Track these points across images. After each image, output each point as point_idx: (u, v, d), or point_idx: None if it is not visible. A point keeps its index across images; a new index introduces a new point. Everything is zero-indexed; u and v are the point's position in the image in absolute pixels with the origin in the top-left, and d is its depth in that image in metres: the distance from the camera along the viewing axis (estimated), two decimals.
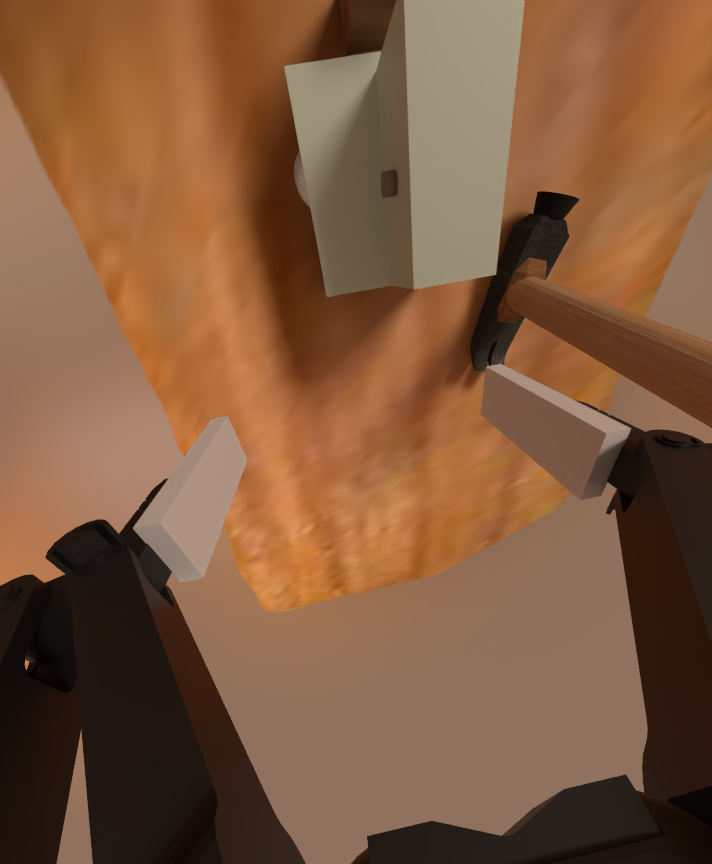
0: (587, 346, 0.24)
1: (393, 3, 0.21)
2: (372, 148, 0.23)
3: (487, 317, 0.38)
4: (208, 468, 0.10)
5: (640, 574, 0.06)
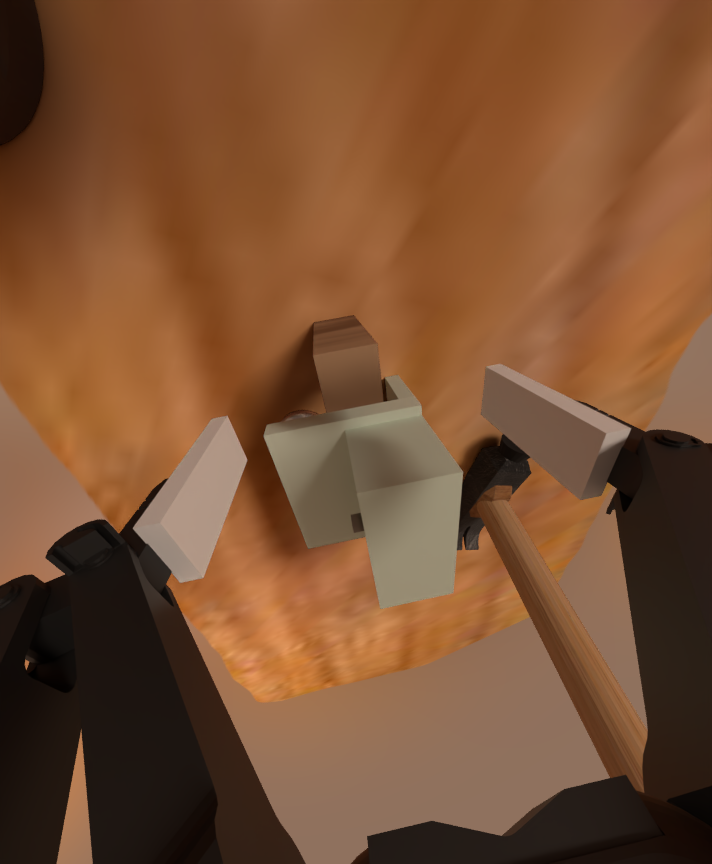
0: None
1: None
2: (344, 468, 0.26)
3: (461, 510, 0.41)
4: (208, 468, 0.10)
5: (640, 574, 0.06)
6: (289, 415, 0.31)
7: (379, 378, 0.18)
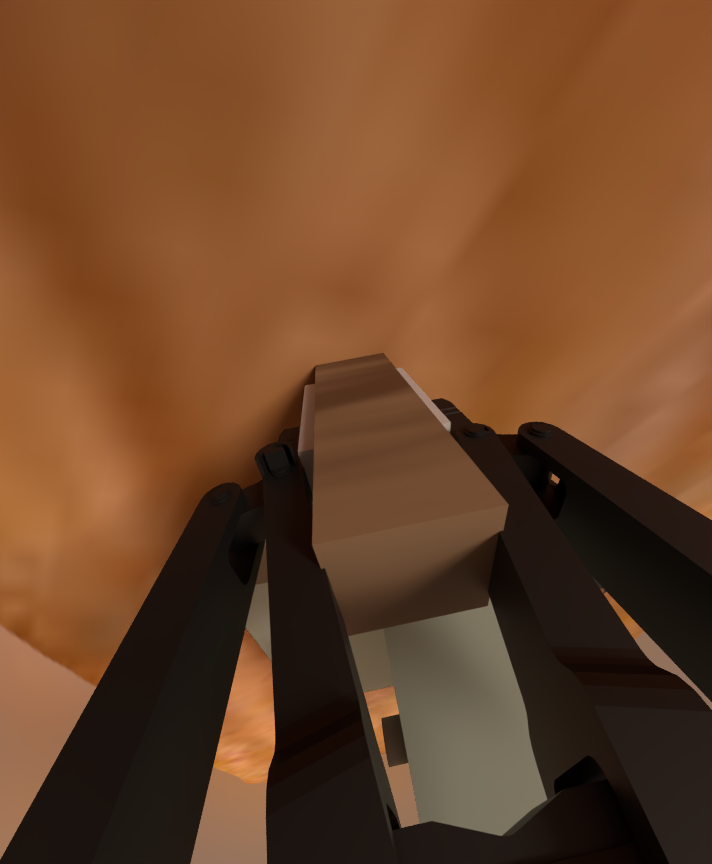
0: None
1: None
2: None
3: None
4: None
5: None
6: None
7: (490, 570, 0.07)
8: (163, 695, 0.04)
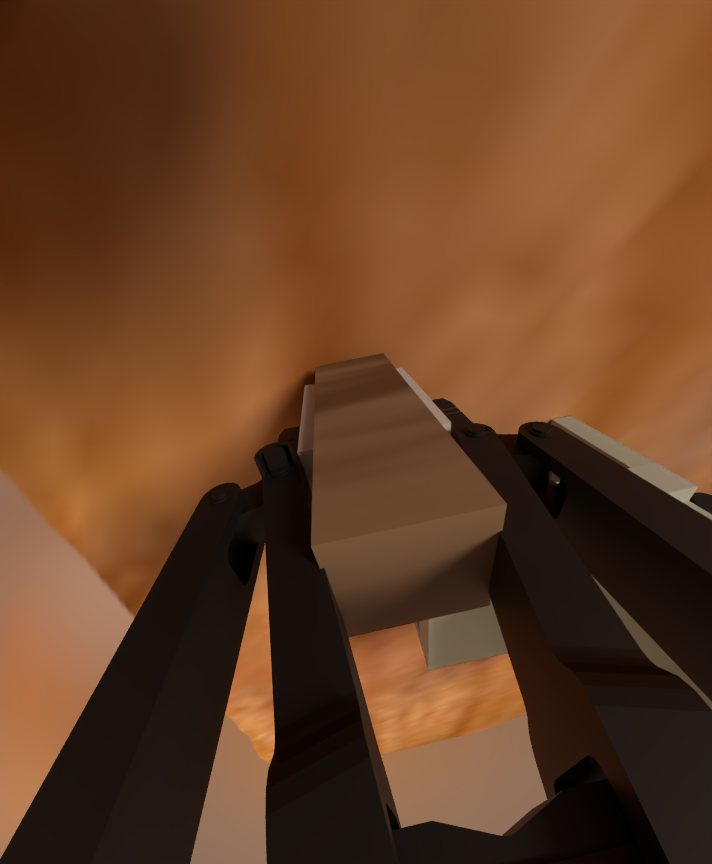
0: None
1: None
2: None
3: None
4: None
5: None
6: None
7: (491, 570, 0.07)
8: (163, 695, 0.04)
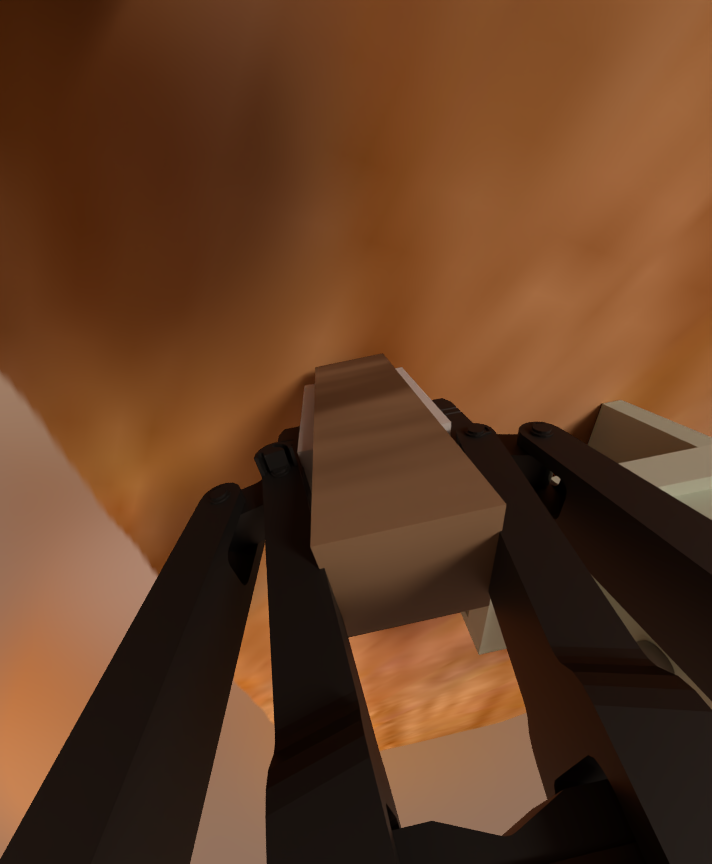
0: None
1: None
2: None
3: None
4: None
5: None
6: None
7: (491, 570, 0.07)
8: (163, 695, 0.04)
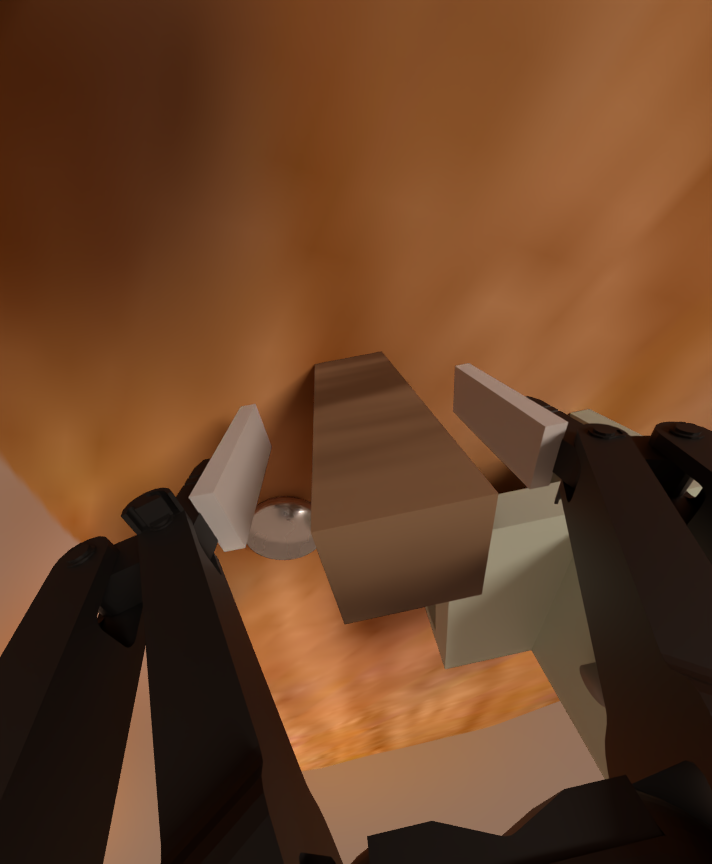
0: None
1: None
2: (554, 574, 0.16)
3: None
4: (244, 450, 0.11)
5: (587, 562, 0.07)
6: (267, 503, 0.20)
7: (483, 558, 0.07)
8: (4, 810, 0.04)
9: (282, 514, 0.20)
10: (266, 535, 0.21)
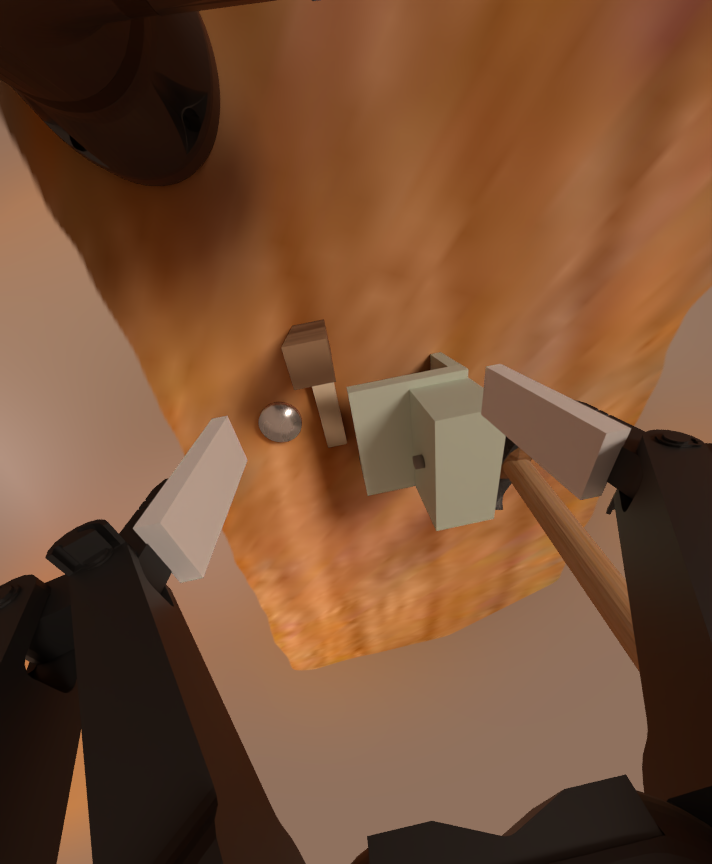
0: (560, 554, 0.34)
1: None
2: (405, 422, 0.33)
3: None
4: (208, 468, 0.10)
5: (640, 574, 0.06)
6: (270, 404, 0.38)
7: (330, 364, 0.25)
8: None
9: (278, 409, 0.38)
10: (270, 423, 0.39)
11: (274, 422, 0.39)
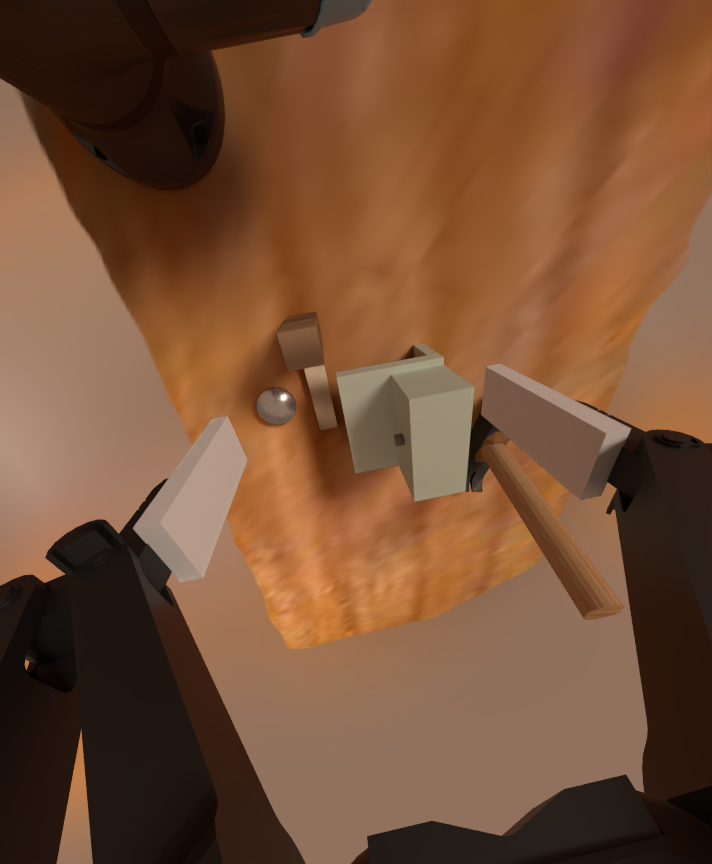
0: (526, 525, 0.38)
1: None
2: (388, 405, 0.37)
3: (468, 457, 0.52)
4: (208, 468, 0.10)
5: (640, 574, 0.06)
6: (267, 389, 0.42)
7: (319, 348, 0.28)
8: None
9: (274, 394, 0.41)
10: (267, 406, 0.42)
11: (270, 405, 0.42)
